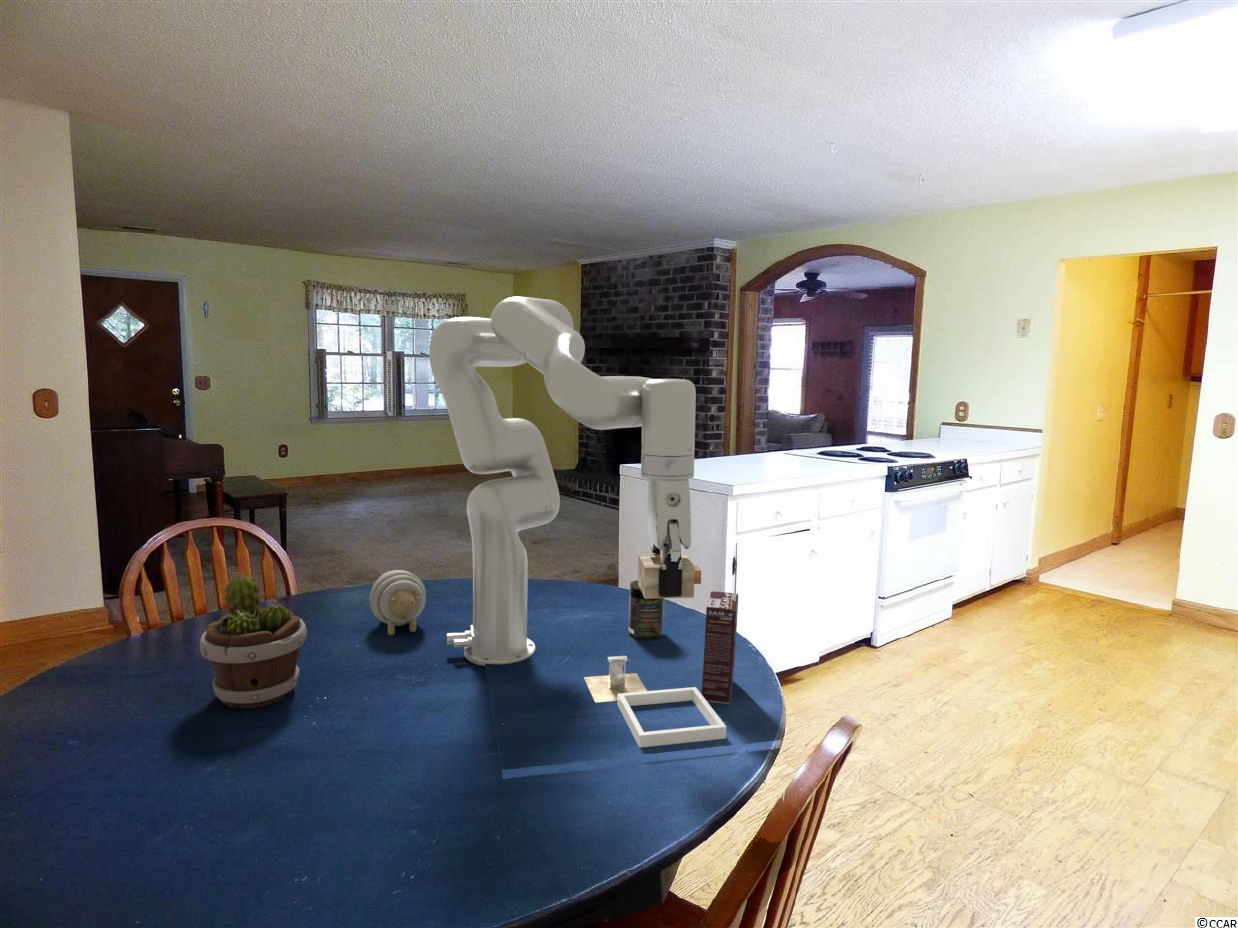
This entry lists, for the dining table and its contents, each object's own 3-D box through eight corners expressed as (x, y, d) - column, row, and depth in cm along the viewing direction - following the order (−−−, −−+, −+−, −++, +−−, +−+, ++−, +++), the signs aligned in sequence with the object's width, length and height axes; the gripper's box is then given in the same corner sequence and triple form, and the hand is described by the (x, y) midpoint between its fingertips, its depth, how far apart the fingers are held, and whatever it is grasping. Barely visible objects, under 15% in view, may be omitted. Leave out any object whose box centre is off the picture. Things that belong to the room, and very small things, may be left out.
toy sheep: (382, 645, 134) (380, 586, 132) (359, 616, 148) (358, 563, 146) (438, 635, 139) (438, 578, 138) (412, 608, 154) (411, 556, 152)
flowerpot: (327, 694, 115) (323, 570, 112) (221, 728, 103) (214, 591, 100) (287, 665, 124) (282, 550, 121) (187, 694, 113) (179, 568, 110)
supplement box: (731, 708, 114) (736, 610, 111) (700, 705, 114) (704, 607, 112) (734, 684, 122) (739, 592, 120) (704, 681, 123) (709, 590, 120)
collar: (704, 597, 104) (705, 566, 103) (644, 598, 103) (645, 567, 102) (694, 582, 111) (694, 553, 110) (638, 583, 110) (638, 554, 109)
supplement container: (670, 640, 140) (672, 587, 139) (639, 646, 137) (641, 592, 135) (651, 628, 146) (652, 577, 144) (621, 634, 143) (623, 582, 141)
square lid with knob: (595, 707, 113) (596, 671, 112) (583, 681, 121) (584, 648, 120) (651, 702, 115) (652, 667, 114) (636, 677, 124) (637, 644, 123)
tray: (639, 752, 100) (639, 735, 100) (617, 709, 112) (617, 693, 112) (725, 743, 103) (726, 726, 103) (695, 701, 115) (695, 686, 115)
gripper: (707, 475, 96) (704, 606, 99) (681, 458, 113) (679, 570, 116) (650, 475, 95) (648, 608, 98) (633, 458, 112) (632, 571, 115)
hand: (665, 586), depth 107 cm, fingers closed on collar, 7 cm apart
